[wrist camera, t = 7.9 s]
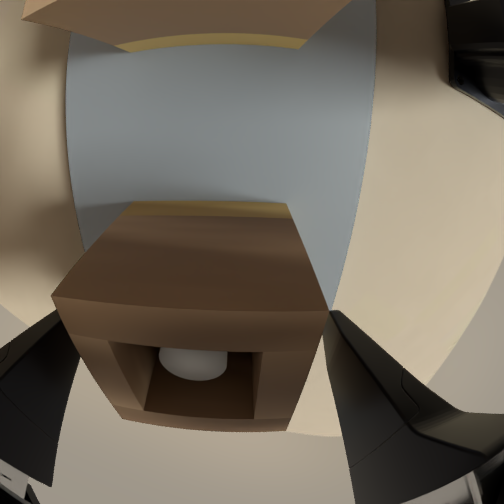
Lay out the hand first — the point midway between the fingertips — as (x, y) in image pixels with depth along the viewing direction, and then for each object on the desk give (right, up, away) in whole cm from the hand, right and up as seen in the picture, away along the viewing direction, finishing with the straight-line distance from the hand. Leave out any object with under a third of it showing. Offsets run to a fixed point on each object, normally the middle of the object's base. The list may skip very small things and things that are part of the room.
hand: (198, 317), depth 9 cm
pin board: (0, +7, +1) cm, 7 cm away
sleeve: (0, +2, +3) cm, 3 cm away
